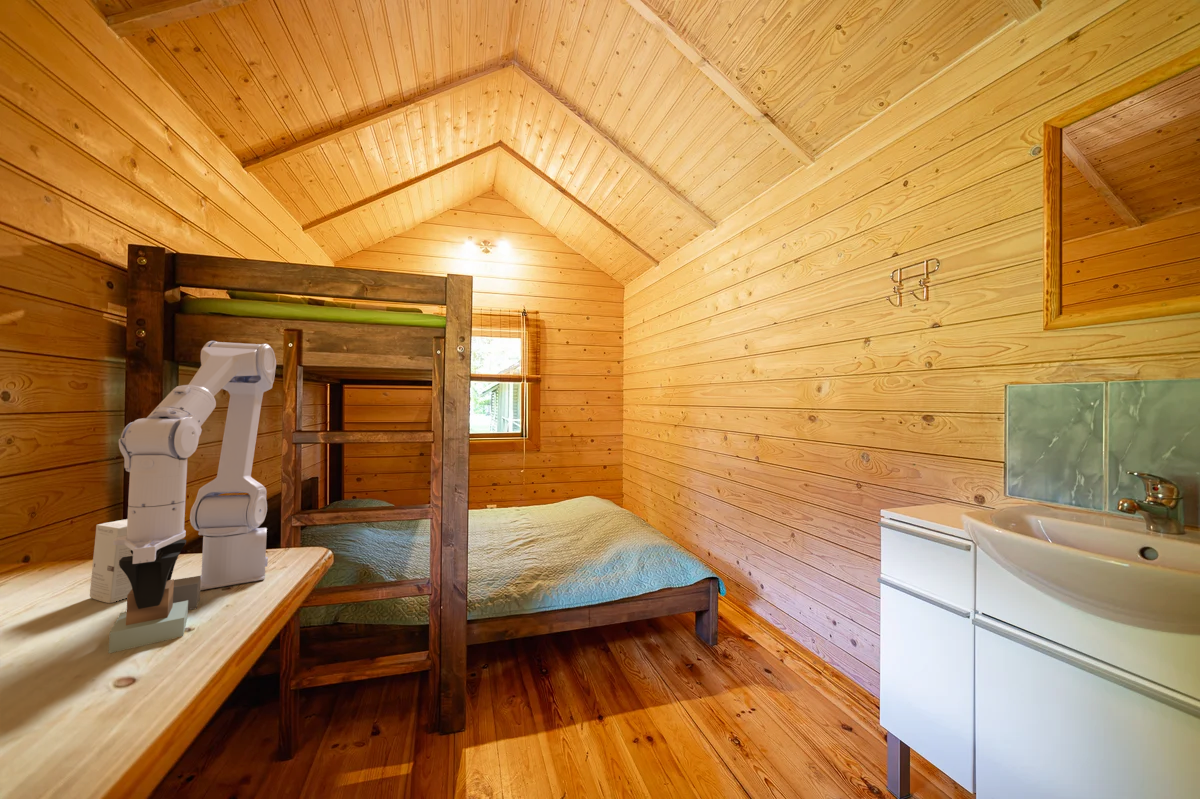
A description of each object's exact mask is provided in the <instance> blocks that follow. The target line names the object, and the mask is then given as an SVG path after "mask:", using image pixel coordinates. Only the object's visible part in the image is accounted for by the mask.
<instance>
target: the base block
mask: <svg viewBox="0 0 1200 799" xmlns="http://www.w3.org/2000/svg"><path fill="white" fill-rule="evenodd" d="M126 613H127V611H125V612H120V613H119V615H118V616H117V619H116V621H115V622H114V624H113V626H112V628H111V630H110V632H109V638H108V654H112V653H116V651H117V652H120V651H126V650H129V649H134V648H139V647H143V646H147V645H151V644H156V643H160V641H161V642H165V641H169V639H170V640H173V638H174V639H177V637H179V638H182V637H181V636H183V637H184V635H185V629H186V626H187V621H188V617H189V616H188V614H189V610H188V600H187V601H182V602H177V603H173V607H172V609H171V611H170V613H169V615H168V617H167V618H162V619H157V620H151V621H146V622H141V623H135V624H130V625H126ZM164 640H165V641H164ZM125 649H126V650H125Z"/></svg>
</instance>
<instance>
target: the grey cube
mask: <svg viewBox="0 0 1200 799" xmlns="http://www.w3.org/2000/svg"><path fill="white" fill-rule="evenodd" d="M200 584H201V575H196V576H189V577H182V578H176V579H174V588H173V603H177V602H182V601H187V600H188V611H189V610H196V609H197V608H198V606H197V605H199V602H200V599H201V590H200ZM195 608H196V609H195Z"/></svg>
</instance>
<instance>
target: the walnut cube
mask: <svg viewBox="0 0 1200 799" xmlns="http://www.w3.org/2000/svg"><path fill="white" fill-rule="evenodd" d="M174 580H175V579H174V578H173V579H172V578H171V580H167V582H166V586H165V590H164V594H163V597H162V600H161V602H160V604H159V605H158V606H153V607H147V608H141V609H138V607H137V605H136V601H135V598H134V593H133V589H132V590H131V591H130V592H129V594H128V595H127V599H126V612H127V613H126V625H130V624H135V623H141V622H146V621H151V620H157V619H162V618H167V617H168V615H169V613H170V611H171V609H172V607H173V588H174Z"/></svg>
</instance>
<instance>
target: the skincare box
mask: <svg viewBox="0 0 1200 799" xmlns="http://www.w3.org/2000/svg"><path fill="white" fill-rule="evenodd" d="M127 520H128V518H126V519H121V520H115V521H109V522H103V523H99V524H96V525H95V537H94V547H93V558H92V568H91V577H90V578H91V579H90V589H89V598H90V599H93V600H96V601H100V602H103V603H107V604H112V603H116V601H117V602H120V601H119V600H121V601H123V600H122V599H124V600H126V599H125V598H127V595H128V594H129V592H130V591H131V590H132V586H131V583H130V581H129V579H128V577H127V575H126V574H125V573H124V571H123V570H122V569H121V568H120V566H119V560H120V559H121V558H122V557H127V556H133V554H132V553H131V549H130V548H128V547H127V546H126V545H123V544H122V545H113V541H114V539H116V538H117V537H123V536H127Z"/></svg>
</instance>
